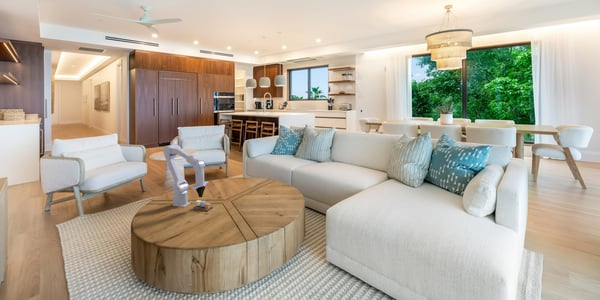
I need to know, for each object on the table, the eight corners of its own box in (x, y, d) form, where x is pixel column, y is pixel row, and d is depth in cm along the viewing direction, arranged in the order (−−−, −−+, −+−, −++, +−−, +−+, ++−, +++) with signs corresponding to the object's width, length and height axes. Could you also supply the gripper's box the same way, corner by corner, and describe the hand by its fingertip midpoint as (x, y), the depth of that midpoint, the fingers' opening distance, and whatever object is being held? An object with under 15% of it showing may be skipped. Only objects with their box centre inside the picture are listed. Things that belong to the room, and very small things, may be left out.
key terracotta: (204, 208, 205) (204, 204, 204) (207, 206, 208) (207, 202, 207) (208, 208, 204) (208, 204, 204) (210, 207, 207) (210, 203, 206)
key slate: (200, 206, 206) (200, 202, 205) (202, 204, 209) (202, 200, 208) (203, 206, 205) (203, 202, 205) (206, 205, 208) (206, 201, 207)
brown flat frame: (193, 209, 206) (193, 207, 206) (199, 205, 212) (199, 204, 212) (207, 211, 202) (207, 209, 202) (213, 207, 209) (213, 206, 208)
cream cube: (195, 205, 207) (195, 201, 206) (198, 204, 210) (198, 200, 209) (199, 206, 206) (199, 201, 206) (201, 204, 209) (201, 200, 208)
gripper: (198, 181, 196) (198, 201, 198) (211, 176, 209) (211, 194, 212) (189, 180, 198) (190, 199, 200) (202, 175, 211) (203, 193, 214)
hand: (200, 196), depth 206 cm, fingers closed
